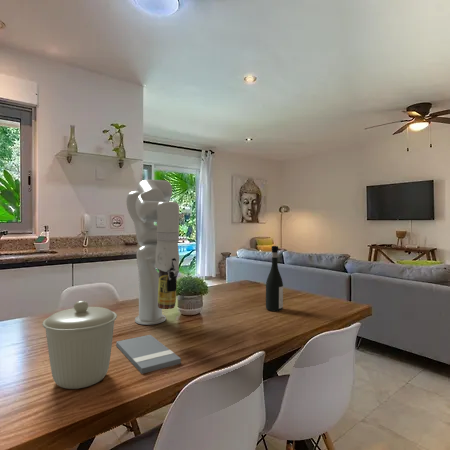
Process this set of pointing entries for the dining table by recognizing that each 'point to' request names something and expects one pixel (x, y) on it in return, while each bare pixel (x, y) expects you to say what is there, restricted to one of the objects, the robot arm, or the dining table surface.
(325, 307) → the dining table surface
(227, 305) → the dining table surface
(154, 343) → the board
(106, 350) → the canister
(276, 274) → the wine bottle
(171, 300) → the sauce bottle
